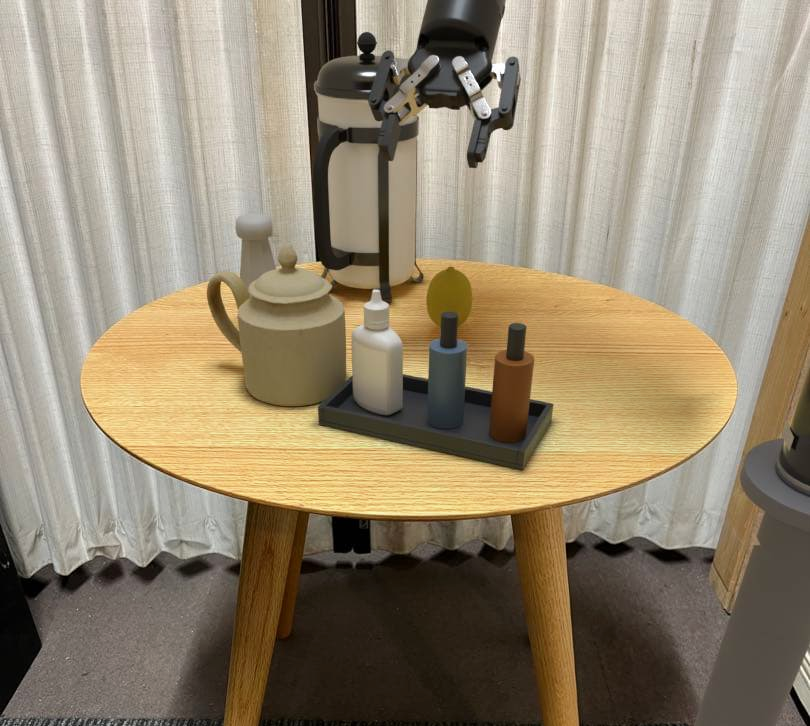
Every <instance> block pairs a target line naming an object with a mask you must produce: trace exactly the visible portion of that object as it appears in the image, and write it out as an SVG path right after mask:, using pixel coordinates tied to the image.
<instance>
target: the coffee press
mask: <svg viewBox="0 0 810 726" xmlns="http://www.w3.org/2000/svg"><path fill="white" fill-rule="evenodd" d="M377 44H378V42H377V39H376V37H375V35H374V34H373V33H372V32H369V31H364V32H362V33H361V34H359V36H358V38H357V41H356V45H357V48H358V49H359V51H360V52H361V53H359V55H348V56H342V57H337V58H334V59H331V60H329V61H327V62H326V63H325V64H324V65H323V66H322V67H321V69H320V70H319V72H318V75H317V80H315V81H314V83H313V89H314V92H315V95H316V96H317V104H318V105H317V106H318V107H317V108H318V116H317V117H316V121H317V134H318V143H317V146H316V149H315V153H314V158H313V168H312V187H313V188H312V189H313V190H312V191H313V211H314V227H315V240H316V241H315V243H316V249H317V254H318V255H317V256H318V258H319V261H320V263H321V265H322V266H323V272H322V274H321V276H320V277H322V278H324V279H327V276H328V275H329V276H330V278H331V279H332V280H331V281H329V283H330V284H331V285H332V288H333V287H335V286H336V285H338V284H341V285H343V286H345V287H350V288H354V289H355V288H356V289H363V290H380V294H381V299H382V301H384V302H386V303H388V304H389V305H390V304H392V302H393V296H392V291H391V290H392V289H391V287H396V286H398V285H401V284H403V283H405V282H406V281H408V280H409V279H411V280H412V281H413V282H414V283H416V284H419V283H421V282H423V280H424V277H425V276H424V274H423V272H422V271H421V269H420V268H419V266H418V265H417V203H418V202H417V194H418V136H419V133H420V116H419V115H418V114H417V115H416V116H413V115H412V116H410V117H409V118H408V119H407V120H406V121H405V122H404V123H402V124H401V125H400V128H401V131H400V135H399V139H398V143H397V147H396V152H395V156H394V160H393V161H385V159H384V156H383V154H381V151H380V149H379V146H378V141H377V140H378V136H379V132H380V128H381V124H382V121H376V120H375V119H374V116H373V113H372V111H371V108H370V106H369V103H368V98H369V95H370V92H371V88H372V85H373V82H374V79H375V76H376V73H377V69H378V66H379V63H380V60H381V57H382V55H375V54H374V53H373V52H374V51H375V50H376V47H377ZM409 77H410V74H407V75H404V76H403V77H402V79H401V81H400V84H399V85H395V88H394V91H393V94H392V97H393V96H394V95H395V94H396V93H398V91H399V88H400V86H401V84H402V83H403V82H404V81H406V80H407V79H408V78H409ZM418 95H419V94H418V92H417V90H416V91H415V93H414V97H415V98H416V97H417V96H418ZM392 97H391V98H392ZM415 269H416V270H417V271H418V272H419V275H418V277H417V278H413V277H412V275H414V272H415Z"/></svg>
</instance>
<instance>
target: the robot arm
mask: <svg viewBox="0 0 810 726" xmlns="http://www.w3.org/2000/svg"><path fill="white" fill-rule="evenodd" d="M506 2H507V0H427V1H426V4H425V8H424V13H423V18H422V21H421V25H420V29H419V33H418V38H417V43H416V49H415V51H414V52H413V54H412V55H411V56H410V57H409V58H408V59H407V58H399V57H395V55H394V52H393V51H392V50H385V51H384V52H383V53H382V55H381V56H382V57H381V60H380V63H379V66H378V69H377V73H376V76H375V79H374V82H373V85H372V88H371V92H370V95H369V98H368V103H369V106H370V108H371V111H372V113H373V116H374V119H375V120H376V121H382V124H381V128H380V132H379V136H378V140H377V141H378V146H379V149H380V151H381V154H383V156H384V159H385V161H393V160H394V156H395V152H396V147H397V143H398V139H399V135H400V131H401V128H400V125H401V124H402V123H404V122H405V121H406V120H407V119H408V118H409V117H410V116H412V115H413V116H416V115H417V116H418V114H420V113H421V112H422V111H423V110H424V109H425V108H427V107H428V108H429V109H437V110H438V109H443V108H446V109H450V110H453V111H454V110H455V111H460V110H461V108H464V107H465V106H466V108H467V109H468V111H469V113H470V115H471V117H472V118H473V120H474V121H473V125H472V126H473V127H472V129H471V132H470V134H471V135H470V138H469V142H468V145H467V146H468V147H467V150H466V161H467V165H468V168H469V169H477V168H478V166H479V163H483V162H484V161H485V159H486V158H487V152H488V148H489V144H490V140H491V136H492V134H493V133H494V131H497V130H501V129H502V130H503V131H510V130H511V129H513V127H514V124H515V117H516V110H517V106H518V99H519V92H520V86H521V80H522V79H521V71H520V70H521V68H520V62H519V61H520V60H519V58H518V57H516V56H514V55H513V56H509V57H508V58H507V59H506V61H505V63H504V62H502V63H501V62H500V63H494V62H493V57H494V54H495V50H496V45H497V40H498V36H499V31H500V29H501V27H500V26H501V23H502V20H503V18H504V15H505V11H506ZM407 74H410V77H409V78H408V79H407V80H406V81H404V82H403V83H402V84H401V86H400V88H399V91H398V93H396V94H395V95H394V96H393V97H392V94H393V91H394V88H395V85H399V84H400V81H401V79H402V77H403V76H404V75H407ZM493 80H496V82H497V83H496V84H497V87H498V88H499V89H500V95H499V96H500V97H499V102H498V107H495V108H490V106H489V105H488V103H487V101H486V98H485V97H484V95H483V92H482V91H483V90H484V89H485V88H486V87H488V86H489V84H491V82H492V81H493ZM416 90H417V92H418V94H419V95H418V96H417V97H416V98H415V97H414V93H415V91H416ZM391 97H392V98H391ZM781 436H782V438H784V443H783V445H782V448H781V451H780V453H779V455H778V458H777V461H776V464H775V471H776V473H777V475H778V477H779V478H780V479H781V480H782V481H783V482H784V483H785V484H786V485H787V486H789V487H790V488H792V489H794V490H795V491H797V492H799V493H801V494H803V495H806V496H808V497H810V363H809V364H808V367H807V370H806V372H805V376H804V378H803V382H802V385H801V389H800V390H799V394H798V398H797V400H796V404H795V406H794V409H793V413H792V416H791V419H790V422H789V424H788V421H786V422H785V425H784V428H783V430H782V434H781Z"/></svg>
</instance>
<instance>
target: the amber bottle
mask: <svg viewBox="0 0 810 726" xmlns="http://www.w3.org/2000/svg"><path fill="white" fill-rule="evenodd" d="M527 329H528V327H527V325H526V324H524V323H522V322H512V323H510V324H509V325H508V330H507V339H506V340H507V341H506V349H503V350H499V351H498V352H496V354H495V355H494V365H493V376H492V377H493V378H492V389H491V390H492V401H491V413H490V426H489V434H490V436H491V437H492V438H493V439H495V440H497V441H501V442H506V443H513V442H518V441H521V440H523V439H524V438H525V436H526V431H527V422H528V413H529V404H530V399H531V394H532V393H531V392H532V386H533V375H534V367H535V357H534V355H533V354H532V353H530V352H528V351H525V348H526V347H525V346H526V338H527Z"/></svg>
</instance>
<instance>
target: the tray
mask: <svg viewBox="0 0 810 726" xmlns="http://www.w3.org/2000/svg"><path fill="white" fill-rule="evenodd" d="M491 401H492V391H491V390H486V389H481V388H476V387H471V386H466V385H465V399H464V416H463V423H462V424H461V425H460V426H458V427H456V428H452V429H440V428H436V427H433V426H432V425H430V424H429V423H428V421H427V410H428V378H425V377H422V376H421V377H420V376H415V375H410V374H406V373H405V374H404V373H403V406H402V409H401V410H400V411H398V412H395V413H393V414H391V415H380V414H376V413H373V412H370V411H368V410H366V409H364V408H362V407H361V406H359V405H358V404H357V403H356V402H355V400H354V398H353V379H352V375H351V376H350V377H348V378H347V379H346V381H345V382H344V383H343V384H342V385H341V386H340V387H339V388H338V389H337V390H336V391H334V392H333V393H332V394H331V395H330V396H329V397H328V398H327V399H326V400H325V401H323V402H320V403H319V405H318V406H317V414H318V416H317V417H318V425H320V426H325V427H329V428H334V429H337V430H343V431H347V432H351V433H354V434H355V433H356V434H359V435H360V434H361V435H365V436H369V437H374V438H378V439H382V440H388V441H392V442H396V443H401V444H405V445H409V446H414V447H418V448H422V449H426V450H431V451H436V452H440V453H445V454H449V455H453V456H459V457H462V458H466V459H471V460H476V461H481V462H485V463H489V464H493V465H498V466H502V467H507V468H511V469H516V470H520V471H523V470H524V468H525V466H526V465H527V463H528V462H529V460H530V458H531V456H532V455H533V454H534V451H535V450H536V448H537V446H538V445H539V443H540V441H541V440H542V438H543V436H544V435H545V433H546V431H547V430H548V427H549V426H550V425H551V423H552V421H553V420H552V419H553V412H554V405H555V404H554V403H551V402H548V401H541V400H537V399H531V398H530V404H529V413H528V422H527V431H526V436H525V438H524V439H523V440H521V441H518V442H513V443H506V442H501V441H497V440H495V439H493V438H492V437H491V436H490V434H489V426H490V413H491Z"/></svg>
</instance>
